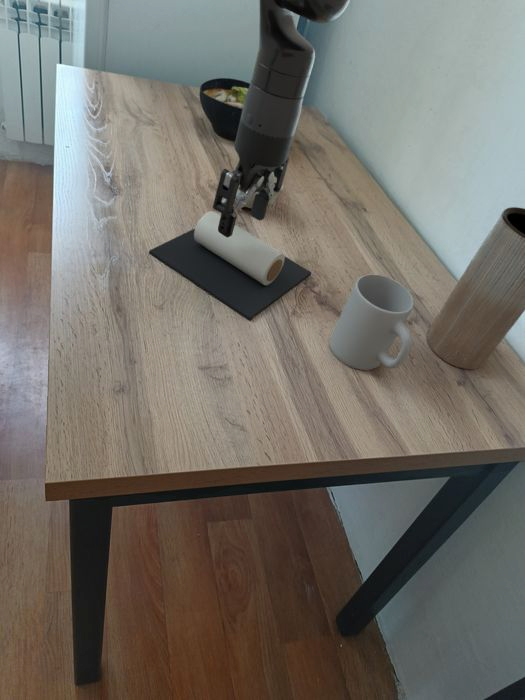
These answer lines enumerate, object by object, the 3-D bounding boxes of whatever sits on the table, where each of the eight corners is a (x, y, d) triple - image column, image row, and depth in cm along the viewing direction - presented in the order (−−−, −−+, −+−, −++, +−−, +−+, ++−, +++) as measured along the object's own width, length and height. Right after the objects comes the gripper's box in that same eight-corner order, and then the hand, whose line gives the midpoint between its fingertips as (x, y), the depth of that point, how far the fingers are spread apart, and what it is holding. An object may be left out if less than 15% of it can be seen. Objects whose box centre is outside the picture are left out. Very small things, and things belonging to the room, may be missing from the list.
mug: (317, 335, 80) (343, 276, 73) (361, 325, 84) (389, 270, 77) (363, 394, 74) (397, 337, 66) (408, 381, 78) (444, 326, 70)
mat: (148, 253, 84) (149, 250, 84) (219, 219, 96) (220, 216, 96) (249, 320, 79) (250, 317, 78) (310, 275, 91) (311, 272, 91)
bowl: (184, 133, 118) (191, 86, 111) (206, 109, 131) (214, 66, 124) (257, 158, 118) (269, 113, 112) (273, 132, 131) (284, 90, 124)
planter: (418, 322, 89) (491, 200, 74) (471, 330, 91) (553, 213, 76) (436, 366, 82) (521, 241, 67) (493, 373, 84) (588, 254, 69)
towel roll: (260, 291, 83) (270, 261, 79) (189, 245, 87) (196, 215, 83) (279, 279, 87) (289, 250, 83) (211, 236, 91) (218, 206, 88)
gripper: (261, 145, 66) (232, 253, 77) (317, 125, 76) (285, 223, 87) (214, 118, 68) (192, 228, 79) (274, 102, 78) (248, 201, 89)
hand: (241, 225), depth 83 cm, fingers open, 8 cm apart
